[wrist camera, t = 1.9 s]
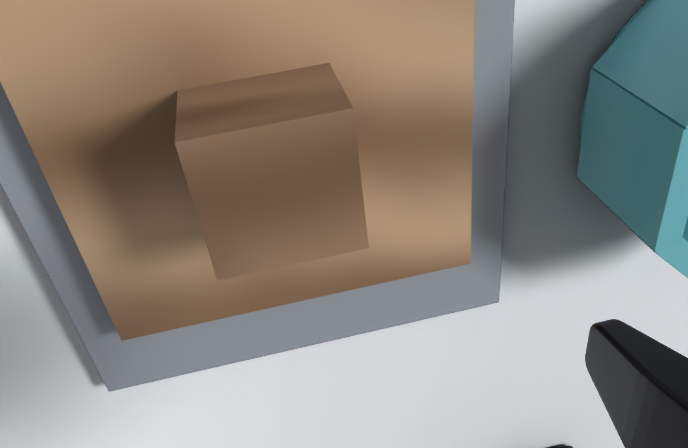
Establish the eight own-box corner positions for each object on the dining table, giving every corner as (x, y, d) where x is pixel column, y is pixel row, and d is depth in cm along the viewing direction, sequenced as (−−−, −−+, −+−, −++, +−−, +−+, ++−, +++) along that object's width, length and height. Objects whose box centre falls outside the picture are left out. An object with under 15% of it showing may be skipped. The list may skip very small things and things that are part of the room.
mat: (492, 292, 24) (498, 302, 24) (110, 379, 23) (109, 391, 22) (518, -303, 14) (530, -306, 13) (-191, -213, 12) (-207, -214, 12)
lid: (462, 249, 22) (506, 322, 19) (123, 324, 20) (111, 414, 17) (463, -136, 15) (535, -123, 12) (-50, -58, 14) (-122, -19, 10)
